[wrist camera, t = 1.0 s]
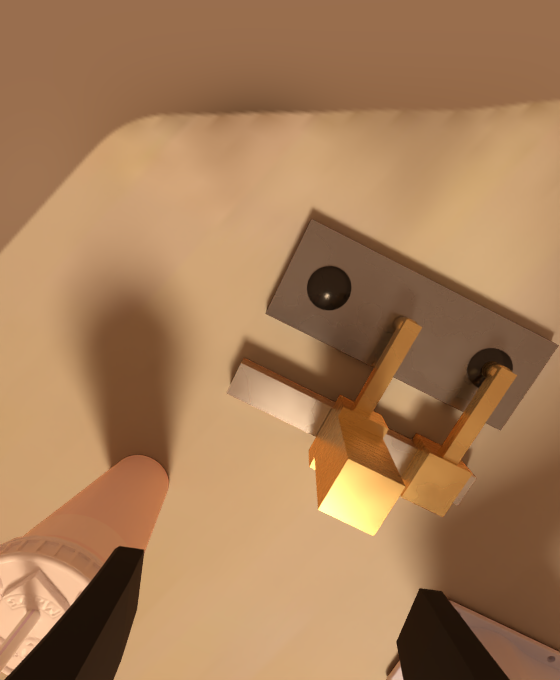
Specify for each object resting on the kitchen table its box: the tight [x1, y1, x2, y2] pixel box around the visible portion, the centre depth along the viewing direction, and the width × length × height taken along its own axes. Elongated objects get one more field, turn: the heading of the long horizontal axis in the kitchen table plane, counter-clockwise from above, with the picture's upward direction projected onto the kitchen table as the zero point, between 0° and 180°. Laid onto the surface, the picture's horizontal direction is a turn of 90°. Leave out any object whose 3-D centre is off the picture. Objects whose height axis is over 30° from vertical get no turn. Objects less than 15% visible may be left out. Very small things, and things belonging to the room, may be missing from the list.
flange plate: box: [265, 219, 559, 430], centre depth 21 cm, size 15×6×1 cm, turn 64°
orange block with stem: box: [309, 317, 422, 536], centre depth 18 cm, size 3×9×6 cm, turn 154°
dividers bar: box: [227, 358, 517, 517], centre depth 21 cm, size 15×9×2 cm, turn 64°
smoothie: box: [0, 455, 169, 675], centre depth 17 cm, size 6×6×14 cm
